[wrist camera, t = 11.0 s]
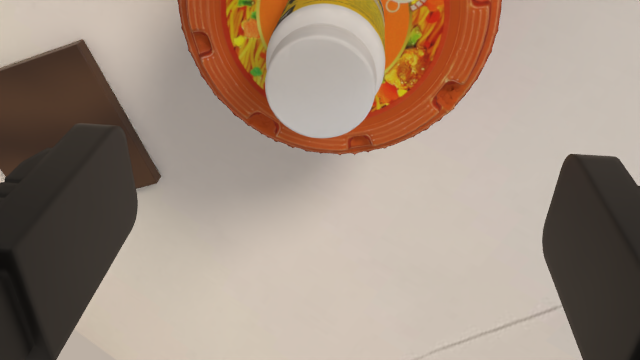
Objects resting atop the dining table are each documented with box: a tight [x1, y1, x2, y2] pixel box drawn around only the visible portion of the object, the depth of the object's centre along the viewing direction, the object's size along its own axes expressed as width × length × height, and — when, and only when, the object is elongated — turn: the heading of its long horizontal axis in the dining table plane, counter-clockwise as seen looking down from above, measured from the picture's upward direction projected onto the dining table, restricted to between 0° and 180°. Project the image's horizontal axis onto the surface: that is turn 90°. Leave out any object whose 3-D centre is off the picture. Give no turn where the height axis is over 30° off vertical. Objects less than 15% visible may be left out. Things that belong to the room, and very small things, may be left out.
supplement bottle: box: [265, 0, 386, 138], centre depth 24 cm, size 5×5×8 cm
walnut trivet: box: [0, 40, 161, 189], centre depth 44 cm, size 12×12×1 cm
